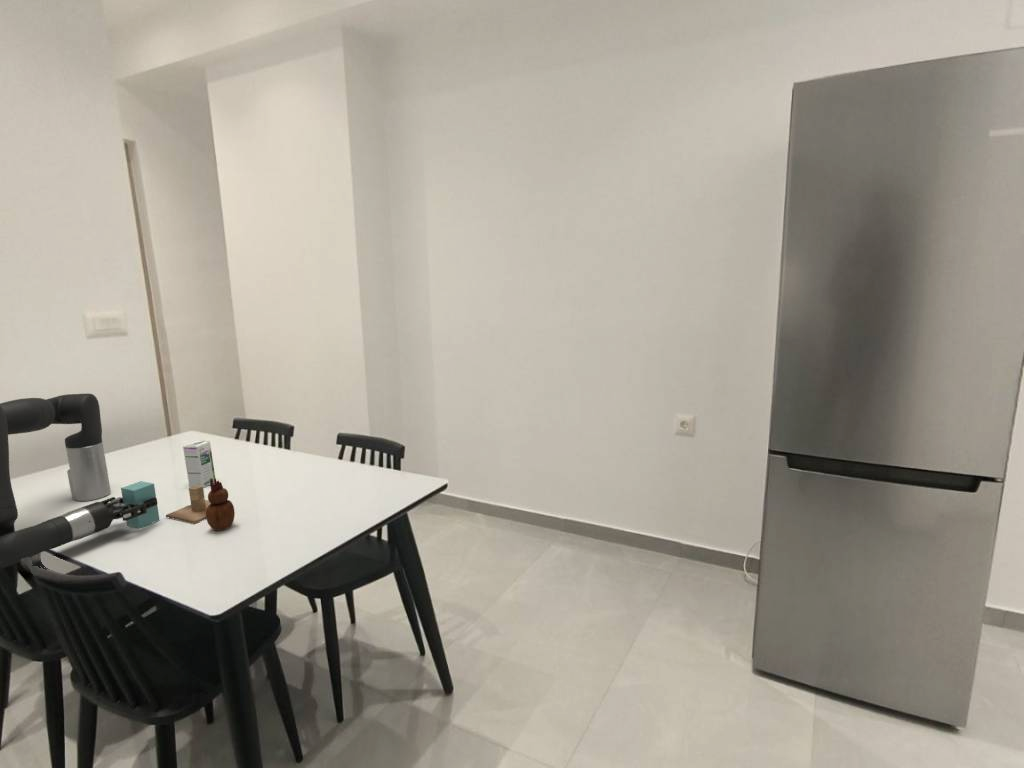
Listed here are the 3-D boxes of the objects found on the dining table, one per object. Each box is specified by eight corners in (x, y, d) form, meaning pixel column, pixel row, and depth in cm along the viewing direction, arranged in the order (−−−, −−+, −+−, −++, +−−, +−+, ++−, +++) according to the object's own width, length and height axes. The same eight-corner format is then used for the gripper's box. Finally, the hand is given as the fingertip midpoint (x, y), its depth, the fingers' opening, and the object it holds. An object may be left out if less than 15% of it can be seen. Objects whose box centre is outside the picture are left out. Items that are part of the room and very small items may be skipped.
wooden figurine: (216, 535, 149) (209, 482, 146) (204, 530, 152) (197, 478, 149) (240, 525, 154) (233, 474, 152) (228, 521, 157) (221, 470, 155)
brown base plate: (194, 524, 156) (191, 497, 155) (166, 517, 161) (162, 492, 159) (231, 507, 167) (228, 482, 165) (203, 501, 172) (200, 477, 170)
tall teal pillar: (139, 528, 154) (133, 490, 152) (127, 525, 156) (120, 488, 154) (159, 520, 159) (154, 483, 157) (146, 517, 161) (141, 481, 159)
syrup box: (203, 488, 183) (198, 445, 180) (188, 487, 184) (182, 445, 181) (216, 482, 188) (210, 440, 186) (201, 481, 190) (195, 440, 187)
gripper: (98, 512, 140) (161, 489, 155) (65, 504, 146) (128, 482, 160) (103, 540, 142) (165, 514, 156) (70, 530, 147) (132, 507, 162)
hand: (146, 498), depth 158 cm, fingers open, 8 cm apart
